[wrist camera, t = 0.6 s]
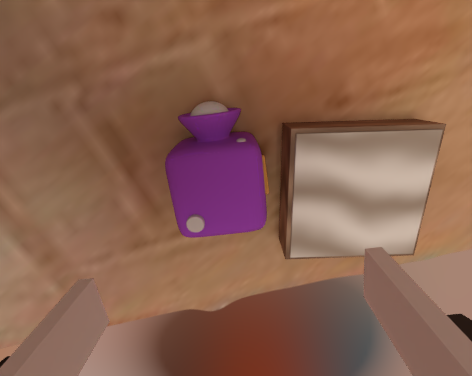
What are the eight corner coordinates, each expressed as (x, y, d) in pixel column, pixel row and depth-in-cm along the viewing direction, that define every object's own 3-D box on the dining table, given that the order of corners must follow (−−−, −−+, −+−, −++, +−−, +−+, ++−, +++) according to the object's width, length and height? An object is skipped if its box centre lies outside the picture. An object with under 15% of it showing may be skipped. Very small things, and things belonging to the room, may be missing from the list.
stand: (282, 123, 32) (292, 129, 27) (414, 118, 32) (448, 124, 27) (278, 238, 37) (286, 261, 32) (391, 234, 37) (415, 257, 32)
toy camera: (243, 88, 30) (248, 87, 21) (273, 192, 35) (288, 230, 26) (157, 117, 31) (125, 129, 22) (197, 215, 36) (185, 259, 27)
